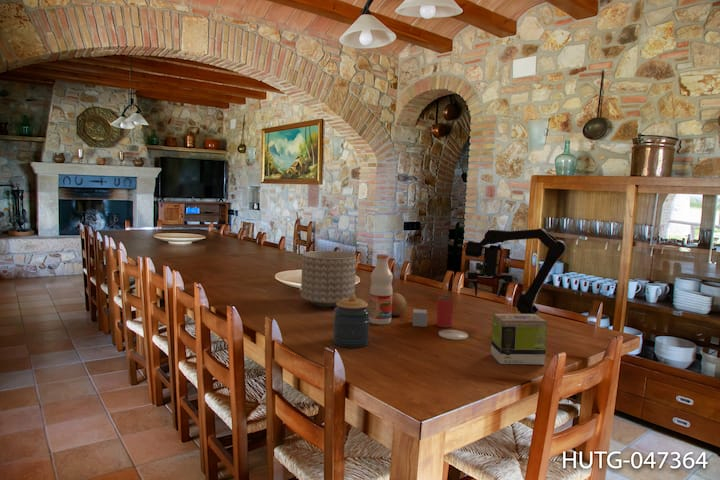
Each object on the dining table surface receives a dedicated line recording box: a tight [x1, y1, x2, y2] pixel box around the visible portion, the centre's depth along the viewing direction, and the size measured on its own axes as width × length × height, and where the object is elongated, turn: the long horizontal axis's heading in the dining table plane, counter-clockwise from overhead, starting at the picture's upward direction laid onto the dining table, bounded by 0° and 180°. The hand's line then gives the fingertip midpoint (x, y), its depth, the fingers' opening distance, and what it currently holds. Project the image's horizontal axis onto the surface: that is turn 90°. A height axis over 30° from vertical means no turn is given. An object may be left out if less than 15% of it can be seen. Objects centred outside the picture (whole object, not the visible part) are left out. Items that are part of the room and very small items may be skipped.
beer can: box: [435, 295, 454, 329], centre depth 193 cm, size 7×7×12 cm
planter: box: [300, 250, 357, 309], centre depth 220 cm, size 25×25×24 cm
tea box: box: [490, 312, 548, 366], centre depth 156 cm, size 15×10×15 cm, turn 92°
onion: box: [391, 292, 408, 317], centre depth 206 cm, size 10×10×10 cm
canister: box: [332, 293, 371, 349], centre depth 167 cm, size 13×13×18 cm
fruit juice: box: [368, 254, 394, 326], centre depth 195 cm, size 9×9×28 cm
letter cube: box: [412, 308, 428, 328], centre depth 194 cm, size 6×6×6 cm
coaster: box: [438, 329, 469, 341], centre depth 181 cm, size 11×11×1 cm
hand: (486, 296), depth 197 cm, fingers open, 9 cm apart
